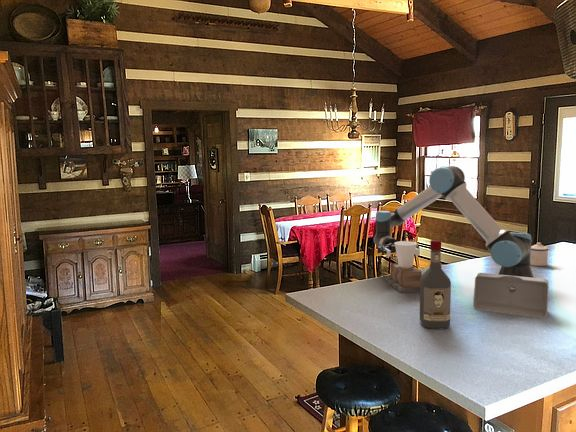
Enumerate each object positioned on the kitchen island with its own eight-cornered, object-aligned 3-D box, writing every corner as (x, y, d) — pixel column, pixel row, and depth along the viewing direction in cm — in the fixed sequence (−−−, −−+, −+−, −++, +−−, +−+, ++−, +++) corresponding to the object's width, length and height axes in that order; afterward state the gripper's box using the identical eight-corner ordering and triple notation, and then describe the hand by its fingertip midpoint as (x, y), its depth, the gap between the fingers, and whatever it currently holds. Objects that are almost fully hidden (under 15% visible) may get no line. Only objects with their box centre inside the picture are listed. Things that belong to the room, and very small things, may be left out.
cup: (414, 264, 217) (414, 241, 215) (418, 269, 207) (418, 245, 206) (392, 264, 218) (393, 241, 216) (395, 269, 208) (395, 245, 207)
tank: (547, 306, 182) (548, 274, 180) (546, 319, 168) (548, 285, 166) (478, 298, 194) (479, 268, 192) (472, 309, 180) (473, 277, 179)
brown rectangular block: (386, 281, 222) (386, 263, 221) (410, 280, 223) (411, 262, 222) (399, 292, 204) (399, 272, 203) (425, 291, 205) (426, 271, 204)
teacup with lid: (547, 263, 251) (548, 241, 249) (547, 266, 243) (548, 244, 241) (522, 261, 256) (523, 240, 255) (522, 265, 248) (522, 243, 247)
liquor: (418, 320, 169) (419, 238, 166) (443, 319, 169) (445, 238, 165) (424, 329, 160) (425, 243, 157) (451, 329, 160) (453, 242, 156)
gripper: (413, 250, 235) (430, 259, 214) (364, 253, 232) (377, 262, 211) (413, 236, 234) (430, 243, 213) (364, 238, 231) (377, 246, 210)
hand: (404, 253), depth 212 cm, fingers open, 13 cm apart
